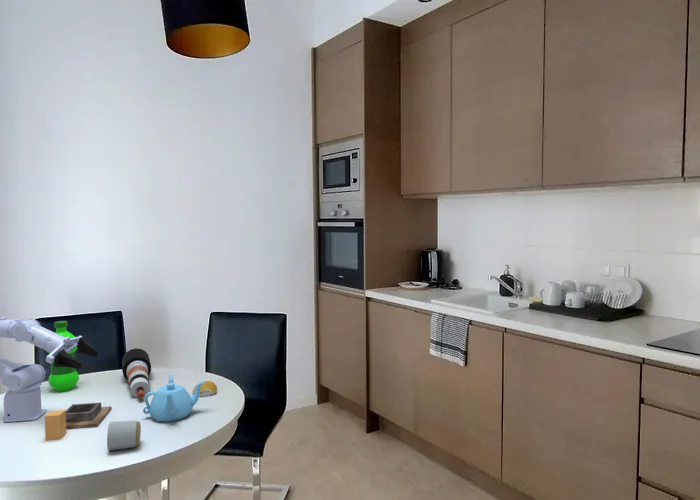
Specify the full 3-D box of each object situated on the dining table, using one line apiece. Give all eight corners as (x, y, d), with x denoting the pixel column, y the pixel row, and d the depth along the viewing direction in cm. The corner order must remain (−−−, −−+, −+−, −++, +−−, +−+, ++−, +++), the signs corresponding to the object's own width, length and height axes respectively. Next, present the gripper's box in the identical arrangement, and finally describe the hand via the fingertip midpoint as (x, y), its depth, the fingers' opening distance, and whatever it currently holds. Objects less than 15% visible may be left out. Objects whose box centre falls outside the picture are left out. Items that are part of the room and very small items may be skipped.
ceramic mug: (139, 450, 134) (138, 423, 134) (107, 455, 131) (105, 427, 131) (142, 436, 144) (141, 410, 143) (112, 440, 141) (111, 414, 141)
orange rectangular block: (45, 440, 141) (44, 416, 141) (51, 434, 145) (50, 411, 145) (61, 439, 142) (59, 415, 141) (66, 433, 146) (65, 409, 145)
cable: (134, 416, 169) (118, 393, 166) (130, 377, 200) (116, 357, 196) (162, 398, 173) (147, 376, 169) (154, 363, 203) (141, 343, 199)
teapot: (136, 419, 155) (134, 387, 154) (173, 403, 168) (172, 373, 168) (170, 428, 148) (168, 394, 148) (206, 410, 162) (205, 379, 161)
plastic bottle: (50, 386, 187) (46, 320, 185) (81, 382, 191) (78, 318, 189) (45, 395, 178) (41, 326, 176) (79, 391, 182) (75, 323, 180)
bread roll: (217, 388, 184) (216, 377, 183) (216, 396, 175) (215, 385, 175) (193, 390, 182) (193, 379, 182) (191, 398, 173) (191, 387, 173)
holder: (50, 430, 148) (49, 418, 148) (68, 412, 162) (68, 401, 161) (97, 426, 150) (96, 415, 150) (111, 409, 164) (111, 398, 163)
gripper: (35, 341, 148) (75, 360, 147) (70, 322, 162) (107, 339, 161) (31, 360, 150) (71, 379, 149) (66, 340, 164) (102, 357, 163)
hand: (89, 360), depth 155 cm, fingers open, 7 cm apart
